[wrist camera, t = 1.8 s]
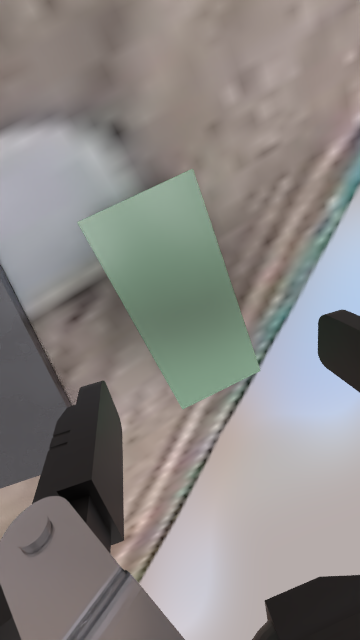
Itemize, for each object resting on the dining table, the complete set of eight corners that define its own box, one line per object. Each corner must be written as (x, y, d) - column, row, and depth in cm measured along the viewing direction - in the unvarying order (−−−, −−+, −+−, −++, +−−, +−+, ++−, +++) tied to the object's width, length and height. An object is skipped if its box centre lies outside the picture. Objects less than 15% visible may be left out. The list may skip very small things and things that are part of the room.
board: (88, 218, 16) (76, 222, 11) (171, 180, 16) (192, 168, 11) (168, 366, 21) (182, 409, 16) (229, 336, 21) (260, 370, 16)
